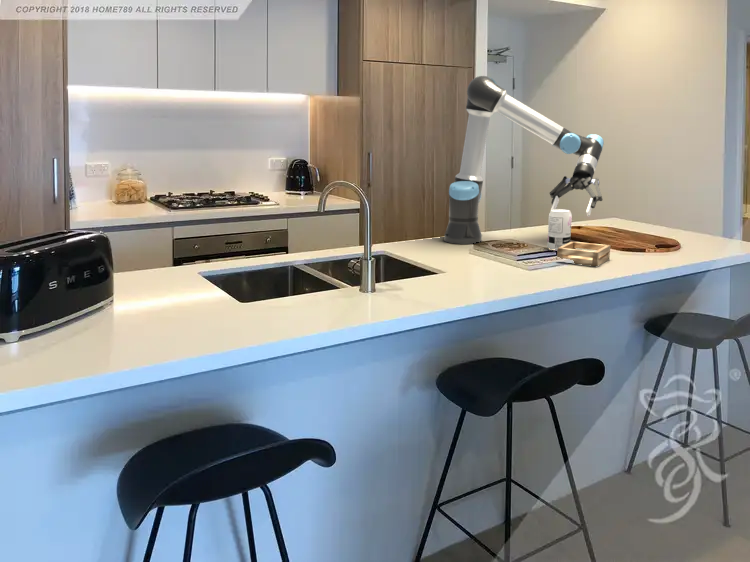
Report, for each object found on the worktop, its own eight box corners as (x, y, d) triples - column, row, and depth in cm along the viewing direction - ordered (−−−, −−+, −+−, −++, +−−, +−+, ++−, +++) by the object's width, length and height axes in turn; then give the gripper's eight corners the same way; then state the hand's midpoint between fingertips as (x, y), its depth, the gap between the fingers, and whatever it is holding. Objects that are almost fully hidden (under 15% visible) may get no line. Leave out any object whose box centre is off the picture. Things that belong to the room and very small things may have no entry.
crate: (556, 262, 243) (557, 248, 242) (570, 254, 254) (571, 241, 253) (596, 267, 236) (597, 252, 234) (609, 259, 247) (610, 245, 245)
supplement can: (544, 248, 267) (546, 209, 263) (565, 247, 267) (567, 208, 264) (551, 252, 259) (553, 212, 255) (572, 251, 260) (575, 211, 256)
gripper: (618, 176, 269) (604, 221, 261) (556, 174, 283) (541, 216, 275) (615, 164, 263) (601, 209, 255) (552, 162, 277) (536, 204, 269)
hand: (569, 212), depth 265 cm, fingers open, 13 cm apart
